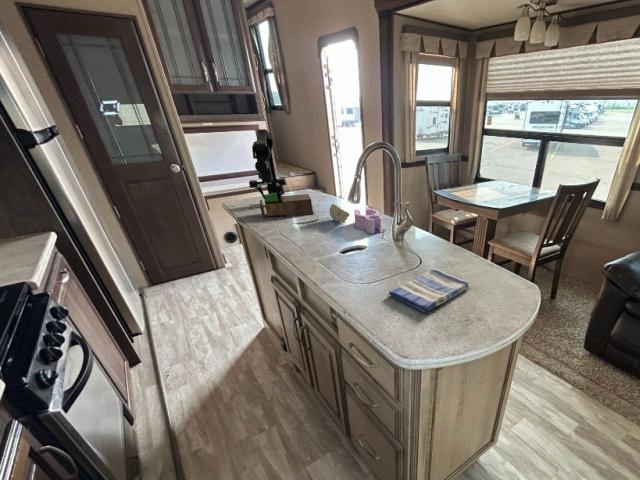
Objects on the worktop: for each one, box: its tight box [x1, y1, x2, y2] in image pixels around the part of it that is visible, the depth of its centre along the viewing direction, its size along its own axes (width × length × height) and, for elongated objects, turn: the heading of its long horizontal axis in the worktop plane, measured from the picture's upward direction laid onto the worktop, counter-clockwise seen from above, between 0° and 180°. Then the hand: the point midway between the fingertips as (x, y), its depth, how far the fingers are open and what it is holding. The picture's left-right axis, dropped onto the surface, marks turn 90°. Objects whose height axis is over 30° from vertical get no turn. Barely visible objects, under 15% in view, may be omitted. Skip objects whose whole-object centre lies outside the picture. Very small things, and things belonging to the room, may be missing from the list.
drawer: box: [249, 199, 284, 218], centre depth 181 cm, size 20×11×7 cm, turn 110°
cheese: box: [329, 203, 351, 224], centre depth 172 cm, size 15×7×15 cm
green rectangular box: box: [264, 193, 278, 203], centre depth 179 cm, size 4×6×3 cm, turn 110°
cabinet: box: [281, 193, 314, 218], centre depth 185 cm, size 16×13×9 cm
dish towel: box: [388, 268, 470, 314], centre depth 109 cm, size 17×24×3 cm
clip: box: [354, 207, 384, 235], centre depth 164 cm, size 20×12×7 cm, turn 29°
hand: (271, 198), depth 179 cm, fingers closed on green rectangular box, 6 cm apart
